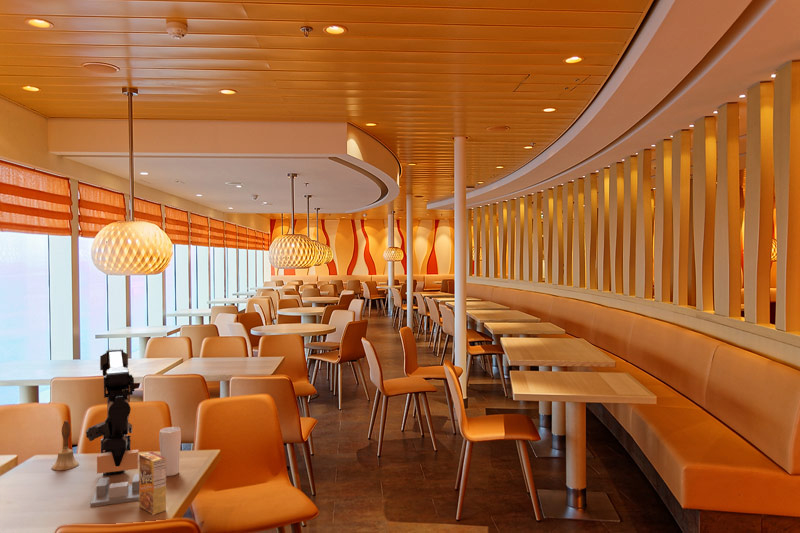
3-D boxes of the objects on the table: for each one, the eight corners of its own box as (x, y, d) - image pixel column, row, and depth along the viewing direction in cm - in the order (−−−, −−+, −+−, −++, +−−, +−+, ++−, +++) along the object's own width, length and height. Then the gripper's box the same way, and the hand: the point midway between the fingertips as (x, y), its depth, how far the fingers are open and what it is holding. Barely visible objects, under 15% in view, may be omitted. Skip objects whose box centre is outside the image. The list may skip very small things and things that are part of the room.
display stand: (97, 491, 178) (96, 478, 178) (146, 485, 183) (145, 472, 183) (90, 506, 167) (90, 493, 167) (142, 499, 171) (142, 486, 171)
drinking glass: (173, 478, 189) (173, 433, 189) (155, 476, 190) (154, 431, 190) (185, 470, 195) (184, 427, 195) (167, 469, 197) (167, 426, 197)
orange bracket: (101, 464, 177) (101, 448, 177) (139, 460, 181) (139, 444, 181) (97, 473, 170) (96, 456, 170) (137, 468, 173) (137, 452, 173)
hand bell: (72, 460, 206) (71, 416, 206) (83, 465, 201) (83, 420, 201) (47, 467, 200) (46, 422, 199) (58, 472, 195) (57, 425, 195)
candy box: (138, 506, 166) (137, 454, 166) (152, 502, 170) (152, 450, 170) (153, 515, 161) (152, 461, 161) (167, 510, 164) (167, 457, 164)
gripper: (93, 407, 179) (93, 457, 179) (82, 423, 161) (82, 478, 161) (132, 404, 183) (132, 453, 183) (125, 419, 165) (126, 473, 165)
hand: (118, 464), depth 173 cm, fingers closed on orange bracket, 3 cm apart
